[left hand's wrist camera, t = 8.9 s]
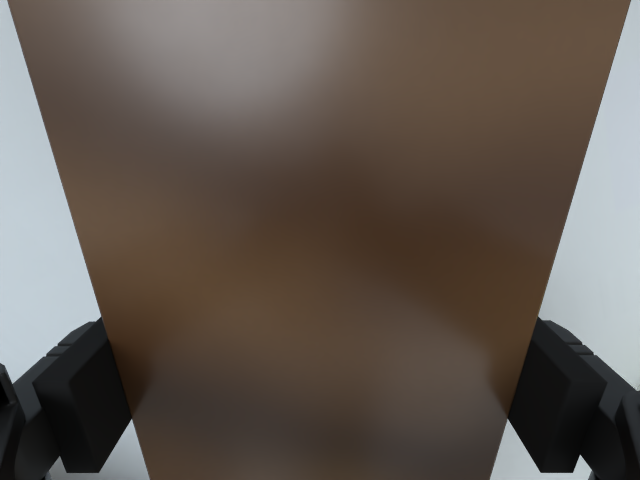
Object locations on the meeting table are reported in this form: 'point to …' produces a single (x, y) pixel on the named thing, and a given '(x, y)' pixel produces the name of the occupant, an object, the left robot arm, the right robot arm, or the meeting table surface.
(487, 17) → the wooden crate block
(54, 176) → the meeting table surface
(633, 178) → the meeting table surface
